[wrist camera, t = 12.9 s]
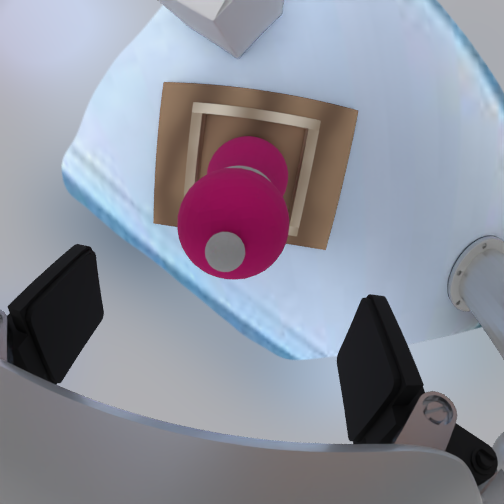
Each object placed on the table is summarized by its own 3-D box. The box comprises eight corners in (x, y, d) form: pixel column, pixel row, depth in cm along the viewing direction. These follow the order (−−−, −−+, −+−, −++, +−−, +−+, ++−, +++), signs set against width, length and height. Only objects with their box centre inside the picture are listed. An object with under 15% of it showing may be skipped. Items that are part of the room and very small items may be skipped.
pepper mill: (282, 203, 32) (296, 333, 14) (214, 198, 32) (150, 318, 14) (288, 135, 29) (322, 183, 11) (216, 130, 29) (134, 172, 11)
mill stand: (355, 110, 28) (364, 111, 25) (323, 245, 35) (328, 259, 32) (167, 82, 28) (156, 80, 25) (156, 219, 35) (146, 230, 32)
